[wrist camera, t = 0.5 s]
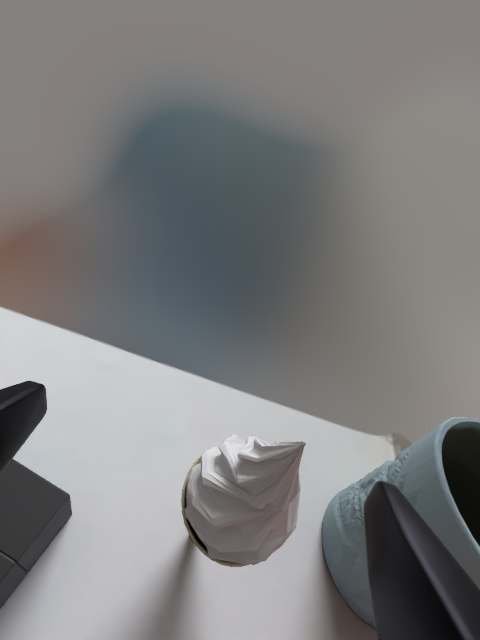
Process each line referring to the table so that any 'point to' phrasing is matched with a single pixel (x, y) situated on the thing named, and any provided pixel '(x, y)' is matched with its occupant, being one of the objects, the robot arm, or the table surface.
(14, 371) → the table surface
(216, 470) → the ice cream cone
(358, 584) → the grey blue pot
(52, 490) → the holder
